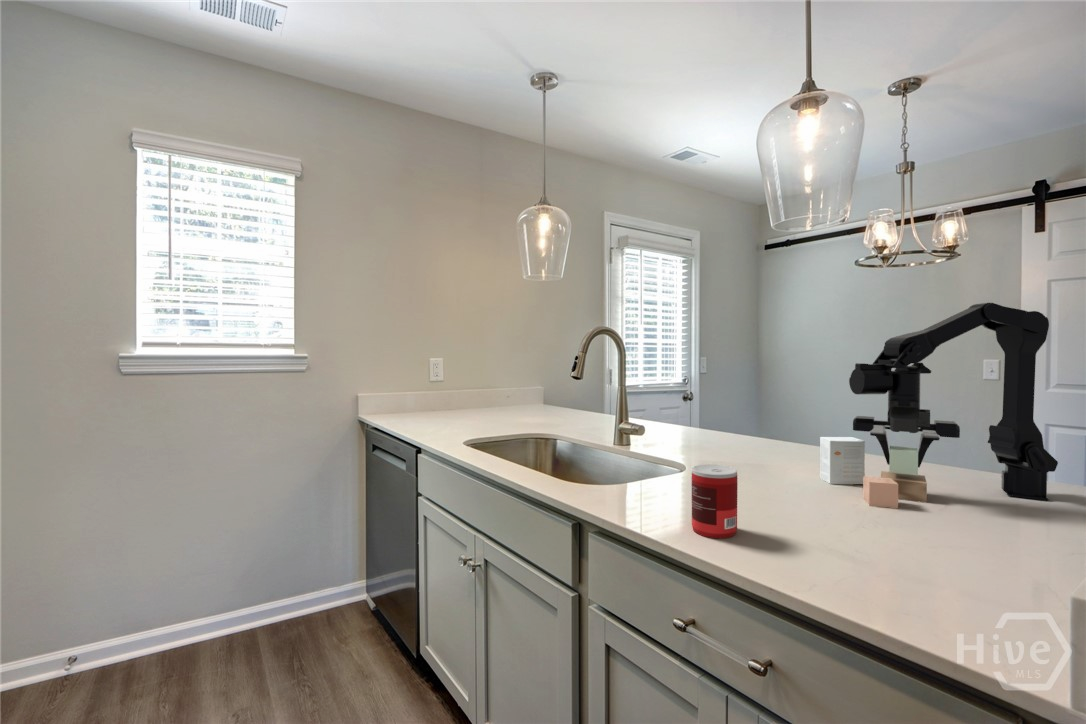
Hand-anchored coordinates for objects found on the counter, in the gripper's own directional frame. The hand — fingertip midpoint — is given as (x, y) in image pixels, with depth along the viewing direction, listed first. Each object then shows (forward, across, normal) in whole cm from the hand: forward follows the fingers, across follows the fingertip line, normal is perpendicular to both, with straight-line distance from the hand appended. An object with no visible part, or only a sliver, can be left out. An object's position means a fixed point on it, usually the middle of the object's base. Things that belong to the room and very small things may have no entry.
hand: (903, 465), depth 112 cm
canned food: (+7, -28, -45) cm, 53 cm away
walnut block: (+6, 0, 0) cm, 6 cm away
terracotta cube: (+7, -4, -10) cm, 13 cm away
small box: (+7, -12, +6) cm, 15 cm away
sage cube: (+1, 0, 0) cm, 1 cm away
